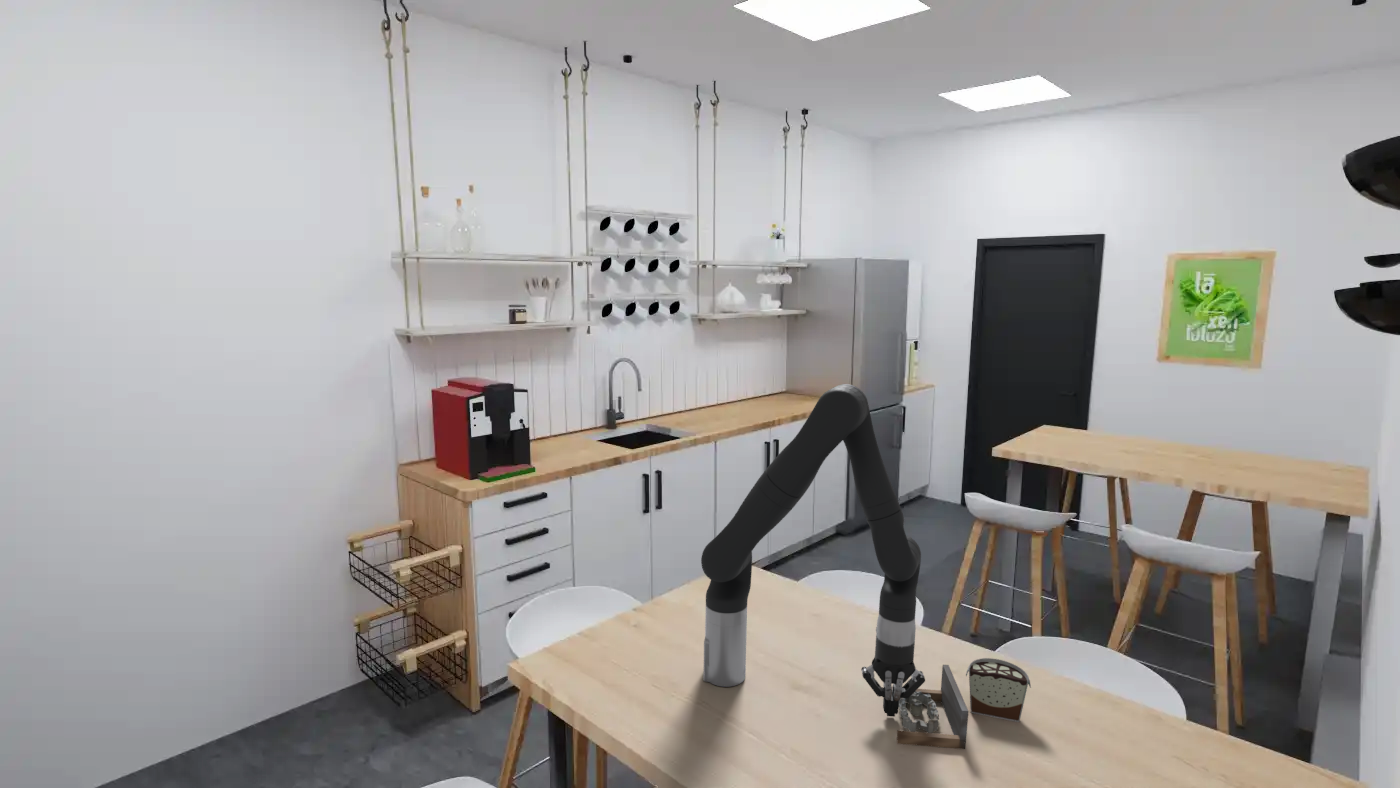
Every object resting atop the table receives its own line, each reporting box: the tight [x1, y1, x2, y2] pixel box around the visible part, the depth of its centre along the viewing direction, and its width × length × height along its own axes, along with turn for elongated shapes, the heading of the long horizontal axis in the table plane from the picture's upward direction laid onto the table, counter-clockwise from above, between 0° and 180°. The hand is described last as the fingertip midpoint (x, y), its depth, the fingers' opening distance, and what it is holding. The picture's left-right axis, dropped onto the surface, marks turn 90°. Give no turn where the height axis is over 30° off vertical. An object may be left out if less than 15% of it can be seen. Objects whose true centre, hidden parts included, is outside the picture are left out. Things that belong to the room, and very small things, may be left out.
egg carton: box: [898, 691, 940, 733], centre depth 146 cm, size 11×8×4 cm
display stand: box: [891, 664, 970, 750], centre depth 144 cm, size 13×16×8 cm
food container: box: [965, 657, 1032, 723], centre depth 148 cm, size 12×6×10 cm, turn 71°
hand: (890, 714), depth 146 cm, fingers closed
